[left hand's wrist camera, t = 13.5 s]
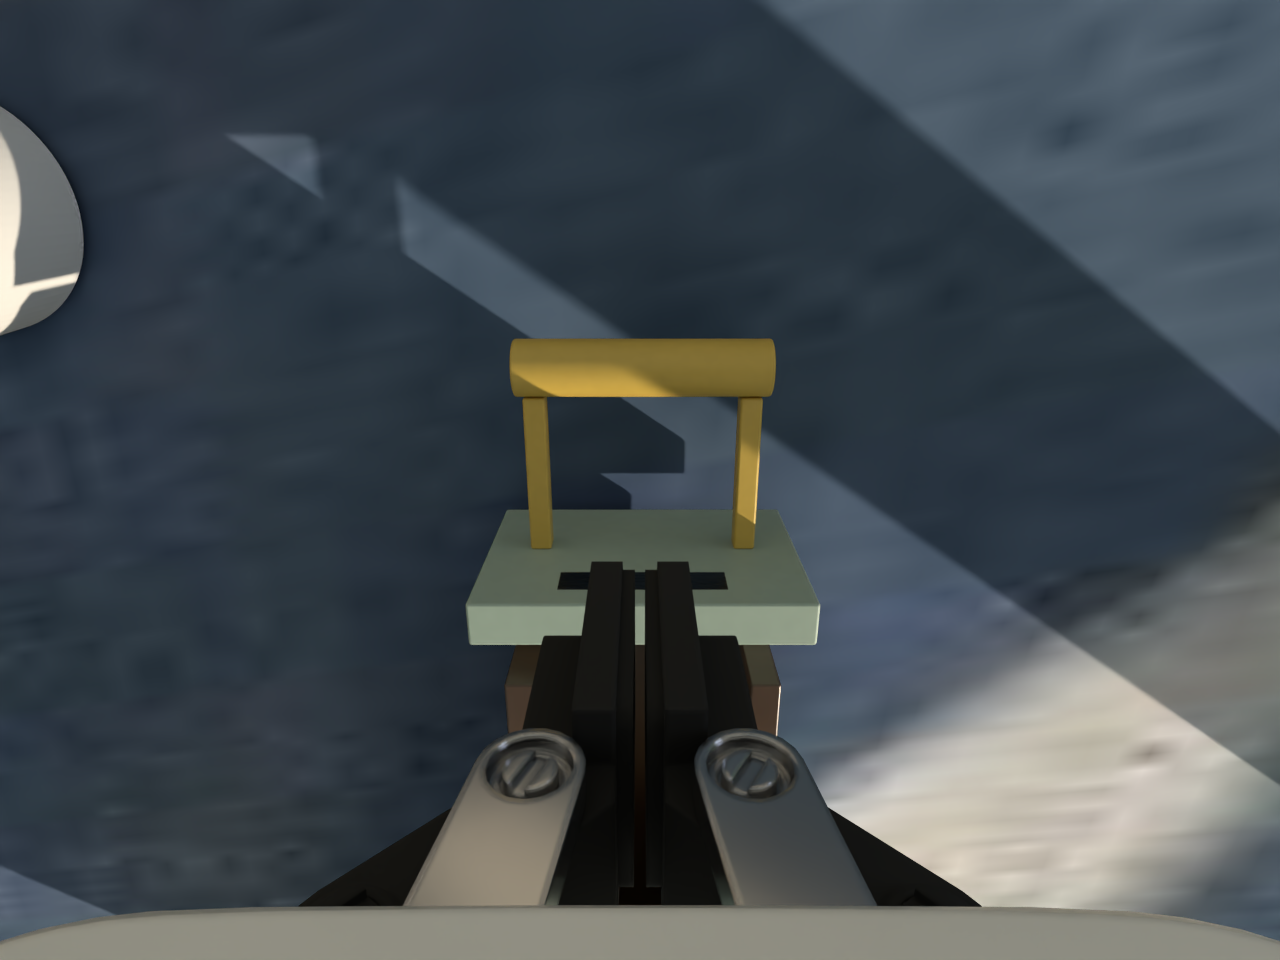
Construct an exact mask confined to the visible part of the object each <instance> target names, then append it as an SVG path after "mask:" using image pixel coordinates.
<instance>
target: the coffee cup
mask: <svg viewBox="0 0 1280 960" xmlns="http://www.w3.org/2000/svg"><path fill="white" fill-rule="evenodd" d="M83 247H84V239H83V227H82V221H81V216H80V212H79V208H78V204H77V201H76V199H75V196H74V193H73V191H72V188H71V186H70V184H69V182H68V180H67V178H66V176H65V174H64V172H63V171H62V169H61V167H60V165H59V164H58V162H57V161H56V159H55V158H54V156H53V155H52V154H51V152H50V151H49V150H48V149H47V147H46V146H45V145H44V144H43V143H42V141H41V140H40V139H39V138H38V137H37V136H36V135H35V134H34V133H33V132H32V131H31V130H30V129H29V128H28V127H27V126H26V125H25V124H23V123H22V122H21V121H20V120H19V119H17V118H16V117H15V116H14V115H12V114H11V113H9V112H8V111H7V110H5V109H4V108H2V107H0V335H3V334H6V333H10V332H13V331H16V330H19V329H22V328H25V327H28V326H31V325H34V324H36V323H38V322H40V321H42V320H44V319H45V318H47V317H48V316H50V315H51V314H52V313H53V312H55V311H56V310H57V309H58V308H59V307H60V306H61V305H62V304H63V303H64V301H65V300H66V299H67V298H68V296H69V294H70V293H71V291H72V289H73V287H74V286H75V284H76V281H77V279H78V276H79V273H80V269H81V265H82V259H83Z"/></svg>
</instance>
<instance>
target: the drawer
mask: <svg viewBox="0 0 1280 960" xmlns="http://www.w3.org/2000/svg"><path fill="white" fill-rule="evenodd" d="M775 374H776V354H775V346H774V343H773V340H772V339H514V340H513V341H512V344H511V348H510V381H511V387H512V391H513V394H514V396H516V397H524V398H523V400H522V403H523V420H524V437H525V454H526V471H527V488H528V505H529V510H507V511H506V513H505V516H504V518H503V520H502V523H501V525H500V527H499V529H498V532H497V534H496V536H495V539H494V541H493V543H492V546H491V548H490V550H489V552H488V555H487V557H486V559H485V562H484V564H483V566H482V568H481V571H480V573H479V575H478V578H477V580H476V582H475V585H474V587H473V589H472V591H471V594H470V596H469V598H468V601H467V603H466V605H465V606H466V616H467V627H468V637H469V643H470V644H471V645H516V646H515V650H514V653H513V657H512V660H511V664H510V668H509V671H508V675H507V678H506V682H505V685H504V688H505V701H506V713H507V726H508V734H509V733H511V732H514V731H519V730H522V729H523V724H524V720H525V715H526V711H527V706H528V702H529V697H530V693H531V688H532V684H533V679H534V675H535V670H536V666H537V661H538V657H539V653H540V648H541V644H542V640H543V637H544V636H545V635H582V628H583V620H584V613H585V605H586V598H587V591H588V583H589V576H590V568H591V562H592V561H623V570H635V811H634V887H619V904H618V905H662V904H661V887H646V811H645V570H657V561H688V562H689V568H690V576H691V583H692V591H693V598H694V605H695V613H696V620H697V628H698V635H735V636H736V637H737V640H738V644H739V648H740V653H741V657H742V661H743V666H744V670H745V675H746V679H747V684H748V688H749V693H750V697H751V702H752V706H753V711H754V715H755V720H756V724H757V729H758V730H761V731H766V732H769V733H771V734H774V735H776V736H777V730H778V718H779V706H780V693H781V684H780V680H779V677H778V673H777V670H776V667H775V663H774V660H773V656H772V653H771V649H770V646H769V645H814V644H816V642H817V633H818V623H819V613H820V604H819V601H818V599H817V597H816V595H815V592H814V590H813V588H812V586H811V584H810V581H809V579H808V577H807V575H806V572H805V570H804V568H803V566H802V563H801V561H800V559H799V557H798V555H797V552H796V550H795V548H794V546H793V543H792V541H791V539H790V537H789V534H788V532H787V530H786V528H785V526H784V523H783V521H782V519H781V517H780V514H779V512H778V510H756V505H757V489H758V472H759V456H760V439H761V423H762V406H763V400H762V398H761V397H769V396H771V394H772V392H773V389H774V383H775ZM547 397H738V411H737V431H736V452H735V473H734V494H733V510H552V495H551V473H550V452H549V430H548V409H547Z"/></svg>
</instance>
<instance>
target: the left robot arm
mask: <svg viewBox="0 0 1280 960" xmlns="http://www.w3.org/2000/svg"><path fill="white" fill-rule="evenodd" d="M634 811H635V570H623V561H592V562H591V568H590V576H589V583H588V591H587V598H586V605H585V613H584V620H583V628H582V635H545V636H544V637H543V640H542V644H541V648H540V653H539V657H538V661H537V666H536V670H535V675H534V679H533V684H532V688H531V693H530V697H529V702H528V706H527V711H526V715H525V720H524V724H523V729H522V730H519V731H514V732H511V733H509V734H506V735H504V736H502V737H500V738H497V739H496V740H495V741H493V742H492V743H491V744H490V745H488V746H487V747H486V748H485V749H484V750H483V751H482V753H481V754H480V755H479V757H478V758H477V759H476V761H475V763H474V765H473V767H472V769H471V771H470V773H469V775H468V777H467V779H466V781H465V783H464V785H463V787H462V789H461V791H460V793H459V795H458V797H457V799H456V801H455V803H454V805H453V807H452V808H450V809H449V810H447V811H445V812H444V813H442V814H441V815H439V816H437V817H436V818H434V819H433V820H431V821H429V822H428V823H426V824H425V825H423V826H421V827H420V828H418V829H417V830H415V831H413V832H412V833H410V834H409V835H407V836H405V837H404V838H402V839H401V840H399V841H397V842H396V843H394V844H393V845H391V846H389V847H388V848H386V849H385V850H383V851H381V852H380V853H378V854H377V855H375V856H373V857H372V858H370V859H369V860H367V861H365V862H364V863H362V864H361V865H359V866H357V867H356V868H354V869H352V870H351V871H349V872H348V873H346V874H344V875H343V876H341V877H340V878H338V879H336V880H335V881H333V882H332V883H330V884H328V885H327V886H325V887H324V888H322V889H320V890H319V891H317V892H316V893H315V894H313V895H312V896H311V897H309V898H308V899H307V900H306V901H304V902H303V903H302V904H300V905H299V906H298V907H243V908H219V909H195V910H171V911H148V912H140V913H131V914H123V915H114V916H105V917H97V918H92V919H87V920H82V921H77V922H72V923H67V924H62V925H58V926H53V927H48V928H43V929H39V930H35V931H32V932H29V933H26V934H22V935H19V936H16V937H13V938H9V939H6V940H3V941H0V960H1280V941H1277V940H1274V939H1271V938H1267V937H1264V936H1261V935H1258V934H1254V933H1251V932H1248V931H1245V930H1241V929H1237V928H1232V927H1227V926H1222V925H1218V924H1213V923H1208V922H1203V921H1198V920H1193V919H1188V918H1183V917H1175V916H1166V915H1157V914H1149V913H1140V912H1132V911H1108V910H1083V909H1059V908H1037V907H982V906H981V905H980V904H978V903H977V902H976V901H974V900H973V899H972V898H971V897H969V896H968V895H967V894H965V893H964V892H963V891H961V890H960V889H958V888H956V887H955V886H953V885H952V884H950V883H948V882H947V881H945V880H944V879H942V878H940V877H939V876H937V875H936V874H934V873H932V872H931V871H929V870H928V869H926V868H924V867H923V866H921V865H919V864H918V863H916V862H915V861H913V860H911V859H910V858H908V857H907V856H905V855H903V854H902V853H900V852H899V851H897V850H895V849H894V848H892V847H891V846H889V845H887V844H886V843H884V842H883V841H881V840H879V839H878V838H876V837H875V836H873V835H871V834H870V833H868V832H867V831H865V830H863V829H862V828H860V827H859V826H857V825H855V824H854V823H852V822H851V821H849V820H847V819H846V818H844V817H843V816H841V815H839V814H838V813H836V812H835V811H833V810H831V809H830V808H828V807H827V805H826V803H825V801H824V799H823V797H822V795H821V793H820V791H819V789H818V787H817V785H816V783H815V781H814V779H813V777H812V775H811V773H810V771H809V769H808V767H807V765H806V763H805V761H804V759H803V758H802V757H801V755H800V754H799V753H798V751H797V750H796V749H795V748H794V747H793V746H792V745H790V744H789V743H788V742H787V741H785V740H784V739H783V738H780V737H778V736H776V735H774V734H771V733H769V732H766V731H761V730H758V729H757V724H756V720H755V715H754V711H753V706H752V702H751V697H750V693H749V688H748V684H747V679H746V675H745V670H744V666H743V661H742V657H741V653H740V648H739V644H738V640H737V637H736V636H735V635H698V628H697V620H696V613H695V605H694V598H693V591H692V583H691V576H690V568H689V562H688V561H657V570H645V811H646V887H661V904H662V905H618V904H619V887H634Z"/></svg>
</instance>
